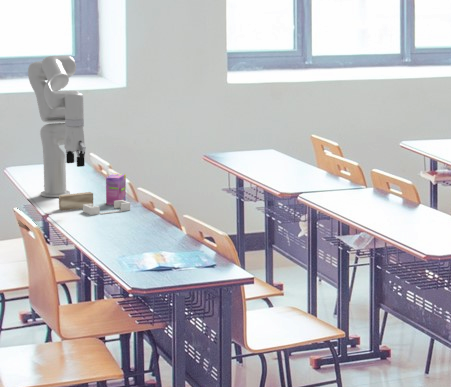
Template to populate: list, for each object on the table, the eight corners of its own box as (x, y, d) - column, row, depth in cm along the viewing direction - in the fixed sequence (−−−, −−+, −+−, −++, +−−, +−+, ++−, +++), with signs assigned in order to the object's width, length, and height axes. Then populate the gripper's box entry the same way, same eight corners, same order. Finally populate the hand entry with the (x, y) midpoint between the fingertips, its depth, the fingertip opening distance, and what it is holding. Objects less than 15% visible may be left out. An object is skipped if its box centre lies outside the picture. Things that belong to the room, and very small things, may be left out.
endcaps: (83, 211, 413) (82, 204, 413) (122, 207, 423) (122, 199, 423) (91, 215, 407) (91, 208, 406) (131, 210, 416) (131, 203, 416)
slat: (59, 209, 418) (58, 195, 417) (90, 206, 426) (89, 191, 425) (62, 211, 416) (61, 196, 415) (93, 207, 423) (93, 193, 422)
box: (119, 205, 426) (118, 177, 424) (106, 204, 428) (105, 177, 425) (126, 200, 436) (125, 173, 434) (113, 200, 438) (113, 173, 435)
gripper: (57, 121, 419) (58, 162, 422) (75, 126, 405) (76, 168, 408) (73, 120, 423) (74, 161, 426) (92, 125, 409) (93, 167, 412)
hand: (75, 164), depth 417 cm, fingers open, 9 cm apart
